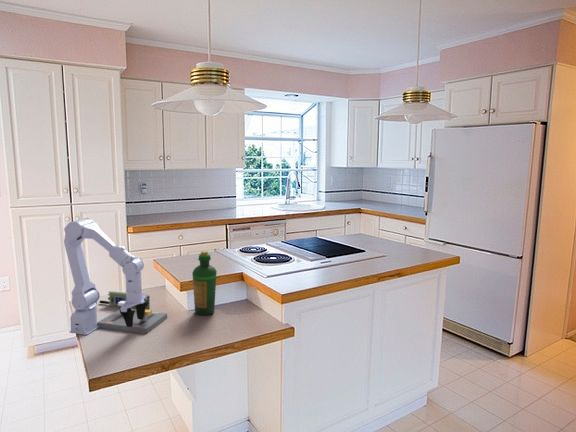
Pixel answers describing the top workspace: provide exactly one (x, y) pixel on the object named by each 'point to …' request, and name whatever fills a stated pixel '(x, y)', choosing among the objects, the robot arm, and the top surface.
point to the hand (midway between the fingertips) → (135, 322)
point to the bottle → (204, 285)
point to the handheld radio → (120, 299)
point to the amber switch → (145, 315)
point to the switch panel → (139, 326)
